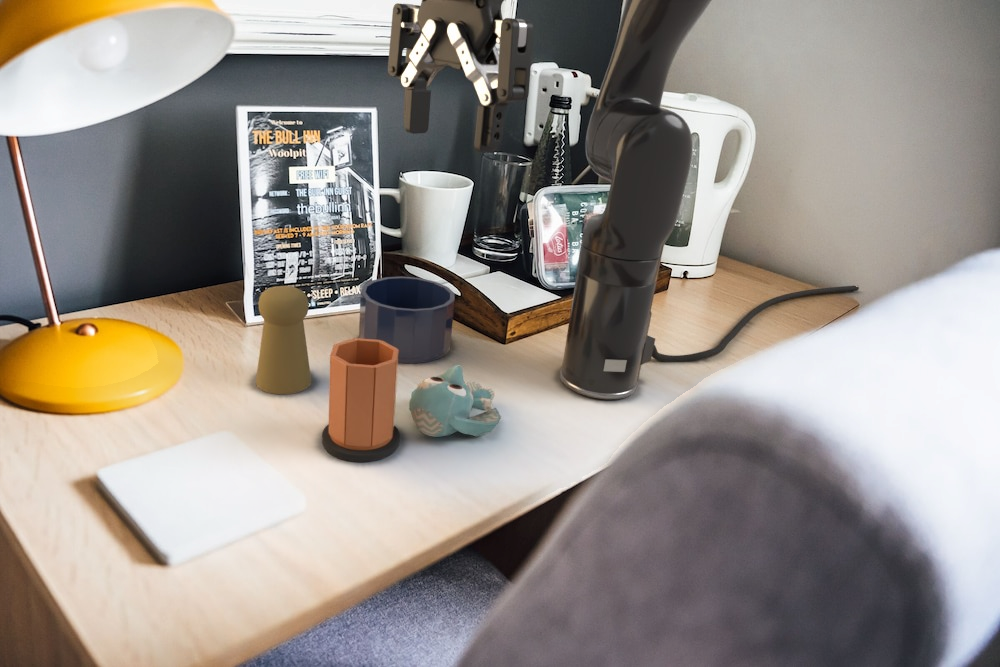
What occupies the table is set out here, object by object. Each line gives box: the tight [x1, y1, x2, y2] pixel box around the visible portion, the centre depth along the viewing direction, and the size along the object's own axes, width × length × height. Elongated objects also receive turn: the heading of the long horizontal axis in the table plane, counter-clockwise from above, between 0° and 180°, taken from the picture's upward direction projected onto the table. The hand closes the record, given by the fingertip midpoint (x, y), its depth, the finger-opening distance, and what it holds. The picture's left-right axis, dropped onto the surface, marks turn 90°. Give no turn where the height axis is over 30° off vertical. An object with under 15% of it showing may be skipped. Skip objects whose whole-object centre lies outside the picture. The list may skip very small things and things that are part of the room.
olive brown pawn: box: [255, 285, 312, 395], centre depth 84 cm, size 6×6×11 cm
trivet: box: [321, 423, 401, 463], centre depth 77 cm, size 8×8×1 cm
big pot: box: [358, 276, 456, 364], centre depth 98 cm, size 12×12×7 cm
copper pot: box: [328, 337, 399, 450], centre depth 75 cm, size 6×6×9 cm
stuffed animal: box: [408, 364, 502, 438], centre depth 81 cm, size 11×7×12 cm
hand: (449, 141), depth 66 cm, fingers open, 8 cm apart
